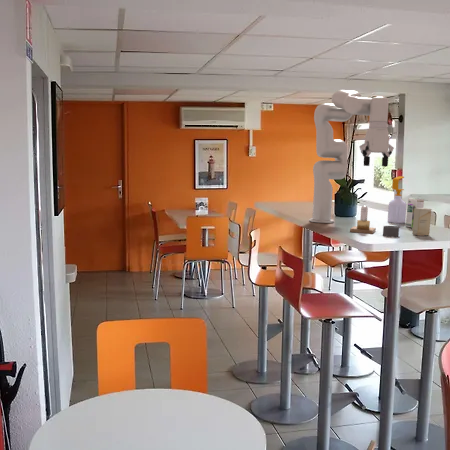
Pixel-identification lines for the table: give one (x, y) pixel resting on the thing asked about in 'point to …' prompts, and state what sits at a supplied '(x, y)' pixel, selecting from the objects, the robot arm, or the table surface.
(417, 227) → the skincare box
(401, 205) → the soap bottle
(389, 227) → the ring
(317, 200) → the robot arm
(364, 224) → the post stand
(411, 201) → the syrup box
